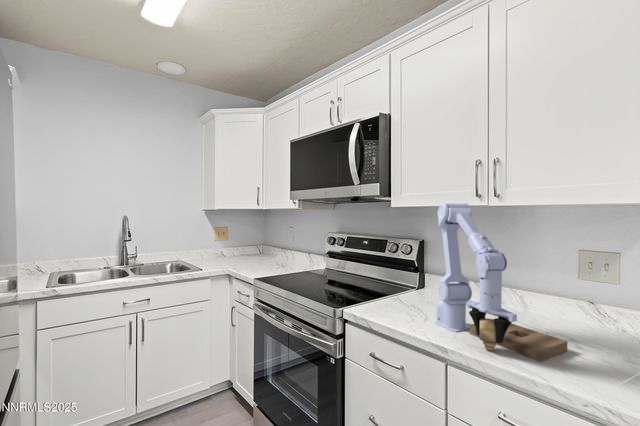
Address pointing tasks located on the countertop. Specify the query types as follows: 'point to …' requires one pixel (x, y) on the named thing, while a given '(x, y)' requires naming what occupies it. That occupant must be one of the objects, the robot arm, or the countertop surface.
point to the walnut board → (530, 342)
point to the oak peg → (488, 333)
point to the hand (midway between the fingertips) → (489, 338)
